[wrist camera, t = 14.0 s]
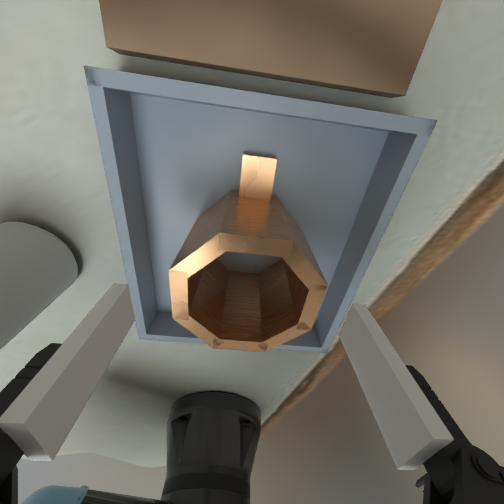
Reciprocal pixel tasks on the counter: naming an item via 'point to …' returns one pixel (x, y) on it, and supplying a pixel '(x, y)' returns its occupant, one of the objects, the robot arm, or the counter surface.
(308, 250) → the mug
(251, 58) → the stake stand
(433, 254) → the counter surface
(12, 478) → the robot arm
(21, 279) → the can
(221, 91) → the tray
